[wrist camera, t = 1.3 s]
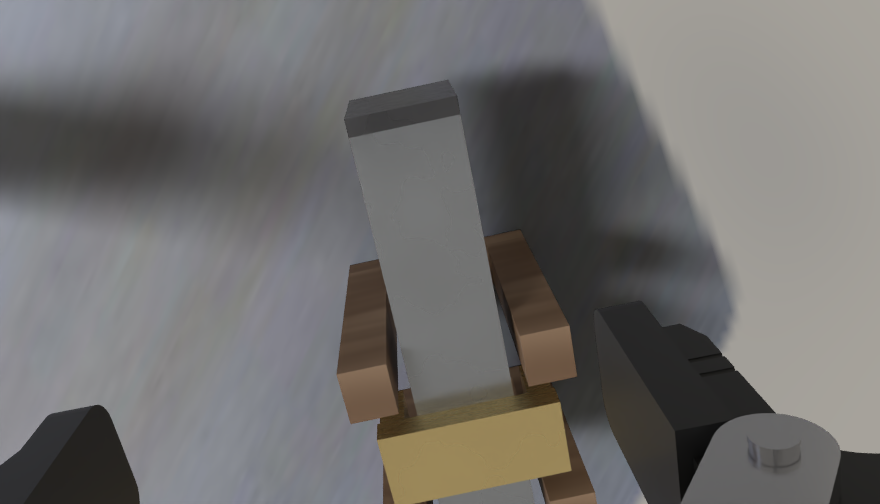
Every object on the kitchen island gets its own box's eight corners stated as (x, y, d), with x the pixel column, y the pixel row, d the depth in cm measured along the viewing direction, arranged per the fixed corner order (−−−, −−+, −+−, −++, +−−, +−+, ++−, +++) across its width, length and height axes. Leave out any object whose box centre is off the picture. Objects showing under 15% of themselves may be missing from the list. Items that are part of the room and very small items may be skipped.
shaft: (349, 100, 27) (344, 119, 24) (447, 79, 27) (456, 95, 24) (444, 493, 33) (451, 552, 30) (524, 477, 33) (540, 534, 30)
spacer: (378, 395, 29) (377, 440, 27) (543, 360, 29) (559, 402, 27) (394, 458, 30) (395, 507, 28) (554, 424, 30) (571, 470, 28)
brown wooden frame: (349, 265, 35) (336, 374, 25) (520, 229, 35) (569, 325, 25) (392, 427, 38) (394, 577, 29) (548, 395, 38) (601, 534, 28)
